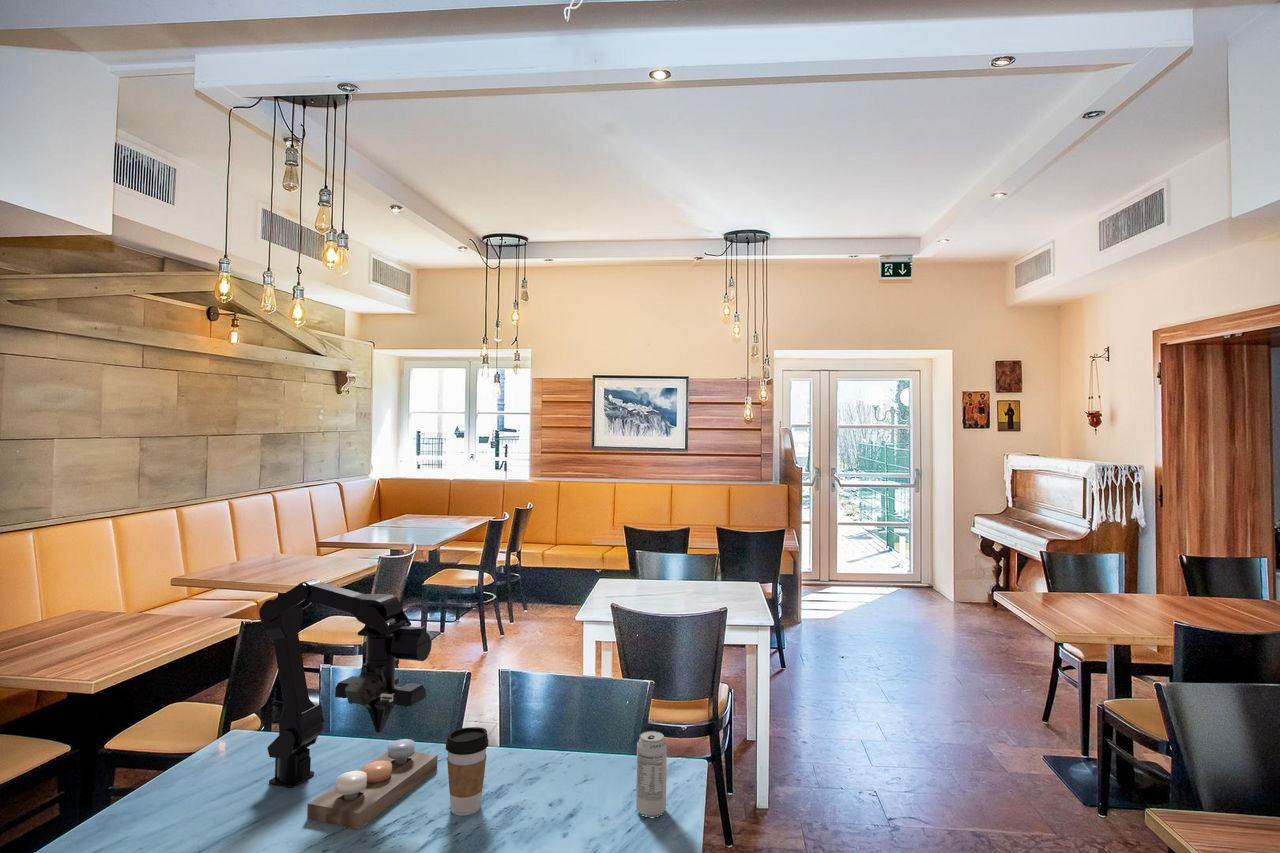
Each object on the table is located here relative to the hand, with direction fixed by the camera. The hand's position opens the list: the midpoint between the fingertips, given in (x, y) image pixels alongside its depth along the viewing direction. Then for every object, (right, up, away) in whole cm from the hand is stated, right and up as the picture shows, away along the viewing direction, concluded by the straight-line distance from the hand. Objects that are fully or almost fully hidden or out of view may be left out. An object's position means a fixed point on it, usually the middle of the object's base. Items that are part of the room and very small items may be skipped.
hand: (379, 731), depth 143 cm
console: (0, -12, 0) cm, 12 cm away
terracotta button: (0, -12, 0) cm, 12 cm away
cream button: (-3, -11, -8) cm, 13 cm away
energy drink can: (+57, -13, -7) cm, 59 cm away
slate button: (+2, -11, +7) cm, 13 cm away
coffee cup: (+20, -13, -6) cm, 24 cm away
